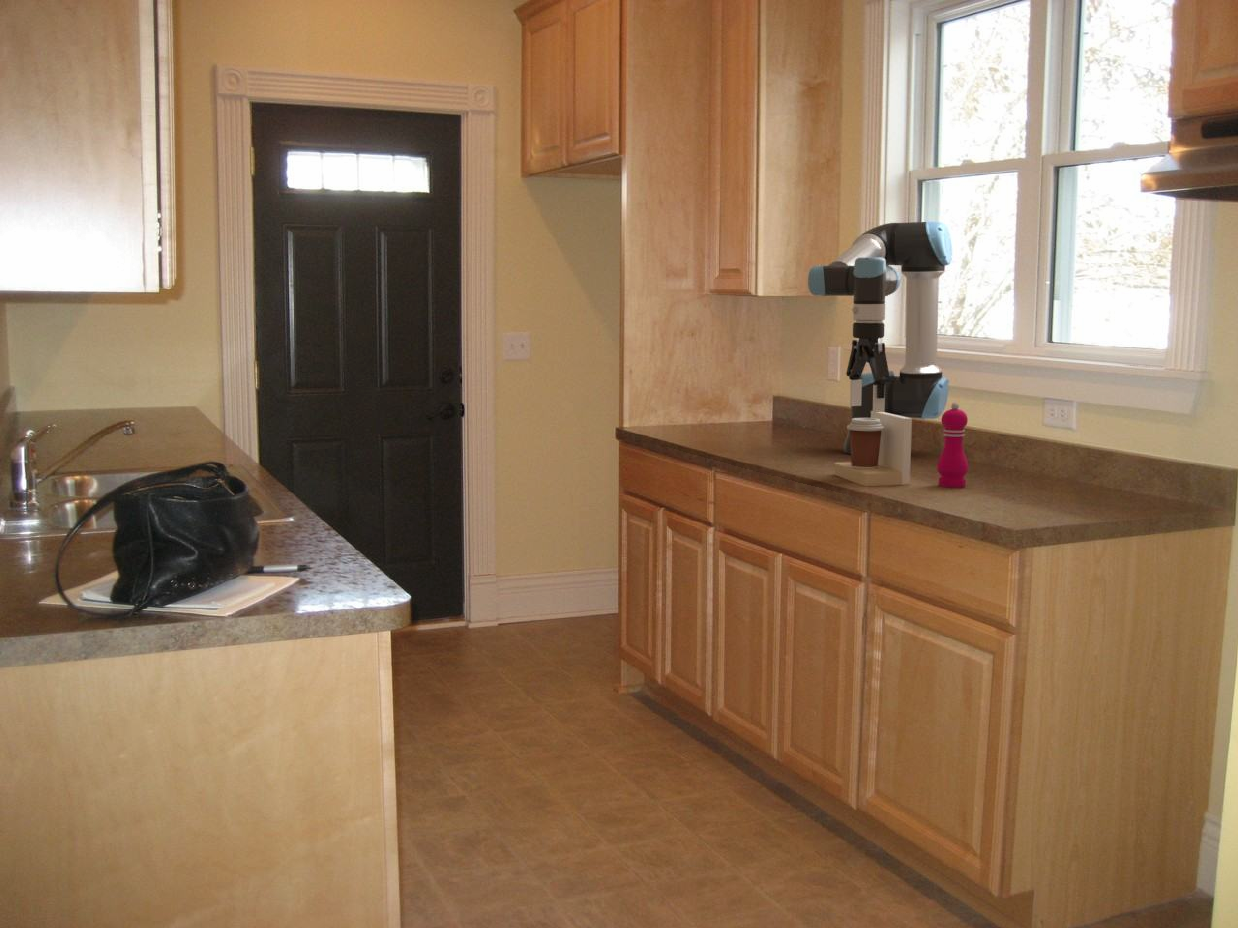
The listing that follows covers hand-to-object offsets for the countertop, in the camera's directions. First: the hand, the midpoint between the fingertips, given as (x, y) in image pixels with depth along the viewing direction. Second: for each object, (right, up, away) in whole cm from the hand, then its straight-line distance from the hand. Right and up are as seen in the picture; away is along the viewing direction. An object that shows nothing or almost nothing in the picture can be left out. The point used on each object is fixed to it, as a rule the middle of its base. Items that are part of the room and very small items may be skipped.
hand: (866, 408), depth 302 cm
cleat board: (+2, -17, +3) cm, 18 cm away
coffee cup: (0, -15, +2) cm, 15 cm away
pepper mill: (+19, -19, -7) cm, 28 cm away
